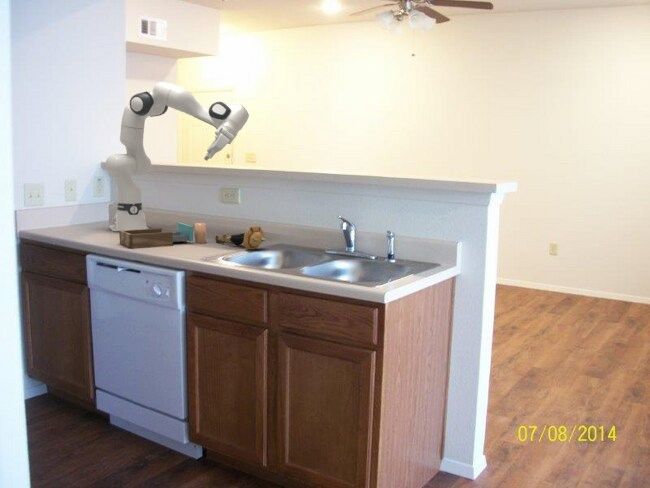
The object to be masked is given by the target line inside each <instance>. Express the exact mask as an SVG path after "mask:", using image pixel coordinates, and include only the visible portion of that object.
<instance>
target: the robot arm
mask: <svg viewBox="0 0 650 488" xmlns="http://www.w3.org/2000/svg"><path fill="white" fill-rule="evenodd" d="M169 108H171V109H174V110H176V111H179V112H182V113H185V114H187V115H189V116H191V117H193V118H196V119H197V120H199V121H202V122H204V123H206V124H209V125H211V126H212V127H214V128H215V129H216V130H215V132H214V134H215V136H214V138H215V139H214V140H213V141H212V143H211V144H210V145H209V146H208V148H207V150H206V151H207V152H206V155H205V157H203V159H204V160H205V161H208V160H209V159H210V160H211V159H212V158H213V157H214V156H215V155H216V154H217V153H219V152H221V151H222V150H223V149H224V148H225V147H226V146H227V145H231V144H232V143H233V141H234V140H235V139H236V137H237V135H238V133H239V132H240V131H241V130H242V129H243V128H244V126H245V124H246V123H247V122H248V119H249V117H250V115H249V112H248V110H247V109H246V108H245V107H244V106H243V105H242V104H239V103H237V104H228V103H225V102H223V101H215V102H214V103H212V104H211V105H210V107H209V108H206V107H205V106H203V105H202V104H201V103H200V102H199V101H198V100H197V99H196V98H195V96H194V95H193V94H192V93H191V92H190V91H189V90H188V89H186V88H185V87H183V86H180V85H179V84H178V85H177V84H174V83H171V82H166V81H160V82H157V83H156V84H155V85H154V86H153V89H152V91H151V92H150V91H147V90H146V91H142V92H139V93H136V94H134V95H132V96H131V98H130V100H129V104H127V105H126V106H125V107H124V110H123V114H122V117H121V124H120V125H121V126H120V136H119V140H120V143H121V145H123V146H124V147H125V149H126V153H116V154H113V155H109V156H108V157H107V158H106V160H105V169H106V171H107V173H109V174H110V175H111V176H112V178H113V180H114V182H115V183H116V187H117V195H118V196H117V197H118V202H117V208H116V209H117V211H116V212H115V214H114V215H113V217H111V219H110V221H111V223H113V224H111V225H109V226H108V229H110V230H111V232H119V231H124V230H140V229H149V227H148V226H147V222H146V214H145V212H144V211H143V203H142V189H141V186H140V185H139V184H137V183H136V182H135V180H134V176H141V175H145V174H148V173H150V171H151V169H152V160H151V159H150V158H149V156H148V155H147V154H146V151H145V148H144V134H145V123H146V119H147V118H148V117H150V118H154V117H160V116H163V115H164V114H165V113H166V112H167V111H168V109H169Z"/></svg>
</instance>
